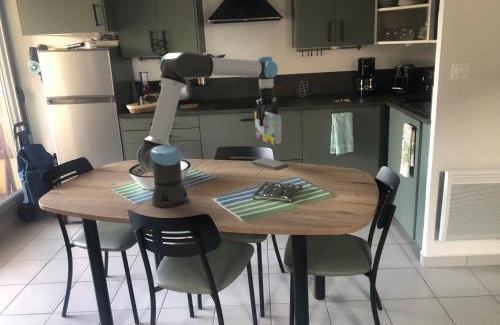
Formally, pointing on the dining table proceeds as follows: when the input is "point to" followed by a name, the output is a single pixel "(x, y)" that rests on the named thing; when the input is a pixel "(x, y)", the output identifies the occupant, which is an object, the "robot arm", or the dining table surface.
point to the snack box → (269, 129)
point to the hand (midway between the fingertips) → (268, 130)
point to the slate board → (269, 163)
